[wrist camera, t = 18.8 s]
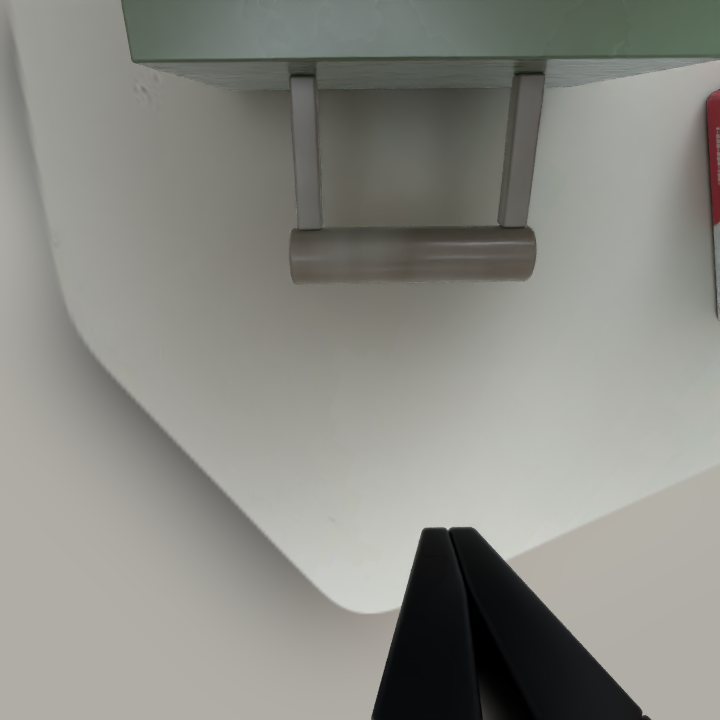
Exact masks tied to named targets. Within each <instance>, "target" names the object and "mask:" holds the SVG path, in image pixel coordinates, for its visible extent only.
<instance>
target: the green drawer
mask: <svg viewBox="0 0 720 720" xmlns="http://www.w3.org/2000/svg"><path fill="white" fill-rule="evenodd" d="M121 3H122V9H123V14H124V20H125V26H126V31H127V37H128V43H129V49H130V54H131V60H132V61H133V62H134V63H136V64H140V65H143V66H146V67H150V68H153V69H157V70H160V71H164V72H167V73H171V74H174V75H178V76H181V77H184V78H188V79H191V80H195V81H198V82H202V83H205V84H209V85H212V86H215V87H219V88H222V89H226V90H289V94H290V111H291V127H292V144H293V160H294V177H295V193H296V210H297V226H298V228H293V229H292V230H291V233H290V239H289V259H290V271H291V277H292V280H293V283H295V284H354V283H430V282H506V281H526V280H528V279H529V278H530V277H531V275H532V272H533V270H534V266H535V261H536V238H535V234H534V231H533V229H532V227H530V226H528V225H527V218H528V210H529V202H530V195H531V187H532V179H533V171H534V163H535V156H536V148H537V140H538V132H539V124H540V117H541V109H542V101H543V93H544V87H572V86H577V85H583V84H588V83H594V82H599V81H605V80H610V79H616V78H621V77H627V76H632V75H638V74H643V73H649V72H654V71H660V70H666V69H671V68H677V67H682V66H688V65H693V64H699V63H704V62H710V61H715V60H720V0H121ZM421 88H511V95H510V105H509V115H508V124H507V134H506V143H505V153H504V163H503V172H502V182H501V192H500V201H499V211H498V221H497V222H498V224H500V225H497V226H415V227H333V228H322V226H323V207H322V181H321V156H320V131H319V105H318V89H421Z"/></svg>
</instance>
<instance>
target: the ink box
mask: <svg viewBox="0 0 720 720" xmlns="http://www.w3.org/2000/svg"><path fill="white" fill-rule="evenodd" d="M706 103H707V119H708V134H709V137H708V141H709V158H710V172H711V175H710V178H711V189H712V205H713V225H714V243H715V265H716V287H717V304H718V318H719V320H720V89H719V90H717V91H715V92H713V93H712V94H711V95H710V96H709V97H708V99H707V102H706Z"/></svg>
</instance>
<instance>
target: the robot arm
mask: <svg viewBox="0 0 720 720" xmlns="http://www.w3.org/2000/svg"><path fill="white" fill-rule="evenodd" d="M371 720H651V719H650V718H649V717H648V716H646V715H644V716H642V710H641V708H640V707H639V706H638V705H637V704H636V703H635V702H634V701H633V700H632V699H631V698H630V697H629V695H628V694H627V693H626V692H625V691H624V690H623V689H622V688H621V687H620V686H619V685H618V684H617V682H616V681H615V680H614V679H613V678H612V677H611V676H610V675H609V674H608V673H607V672H606V670H605V669H603V667H602V666H601V665H600V664H599V663H598V662H597V661H596V660H595V658H594V657H592V655H591V654H590V653H589V652H588V651H587V650H586V649H585V648H584V647H583V645H582V644H581V643H580V642H579V641H578V640H577V639H576V638H575V637H574V636H573V635H572V634H571V632H570V631H569V630H568V629H567V628H566V627H565V626H564V625H563V624H562V623H561V622H560V621H559V619H558V618H557V617H556V616H555V615H554V614H553V613H552V612H551V611H550V610H549V609H548V608H547V607H546V605H545V604H544V603H543V602H542V601H541V600H540V599H539V598H538V597H537V595H536V594H535V593H534V592H533V591H532V590H531V589H530V588H529V587H528V586H527V585H526V584H525V582H523V580H522V579H521V578H520V577H519V576H518V575H517V574H516V573H515V572H514V571H513V569H512V568H511V567H510V566H509V565H508V564H507V563H506V562H505V561H504V560H503V559H502V557H501V556H500V555H499V554H498V553H497V552H496V551H495V550H494V549H493V548H492V547H491V546H490V544H489V543H488V542H487V541H486V540H485V539H484V538H483V537H482V536H481V535H480V534H479V532H478V531H477V530H476V529H474V528H472V527H452V528H450V529H449V530H447V529H446V528H444V527H436V528H424V529H423V530H422V533H421V536H420V540H419V544H418V547H417V551H416V555H415V558H414V562H413V566H412V569H411V573H410V577H409V580H408V584H407V588H406V591H405V595H404V599H403V602H402V606H401V610H400V613H399V617H398V621H397V624H396V628H395V632H394V635H393V639H392V643H391V647H390V650H389V654H388V658H387V661H386V665H385V669H384V672H383V676H382V680H381V683H380V687H379V691H378V695H377V698H376V702H375V705H374V709H373V713H372V717H371Z"/></svg>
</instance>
